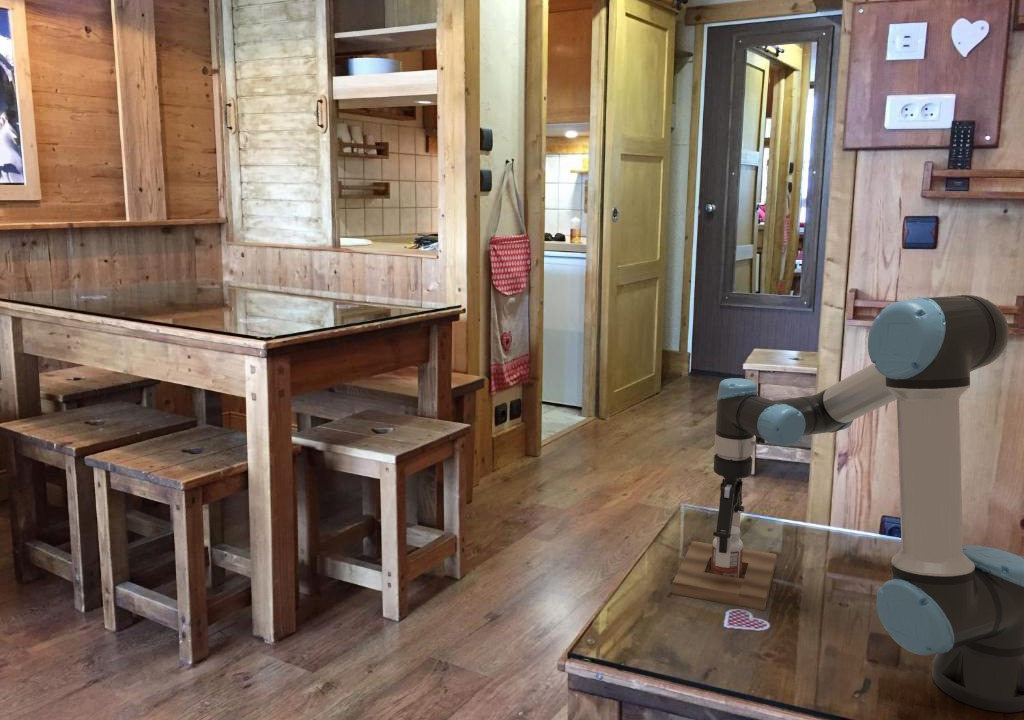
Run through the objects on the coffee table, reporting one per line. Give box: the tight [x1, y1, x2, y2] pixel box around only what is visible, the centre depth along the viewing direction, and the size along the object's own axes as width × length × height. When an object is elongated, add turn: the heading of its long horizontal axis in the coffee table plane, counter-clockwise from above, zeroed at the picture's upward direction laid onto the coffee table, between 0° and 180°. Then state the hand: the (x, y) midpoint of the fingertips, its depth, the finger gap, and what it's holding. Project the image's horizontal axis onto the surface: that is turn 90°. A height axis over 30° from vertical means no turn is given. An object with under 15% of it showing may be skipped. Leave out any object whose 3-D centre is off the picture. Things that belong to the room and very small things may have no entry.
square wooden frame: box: [671, 540, 777, 611], centre depth 182 cm, size 22×18×2 cm
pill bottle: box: [710, 526, 744, 579], centre depth 181 cm, size 6×6×11 cm
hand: (727, 553), depth 181 cm, fingers open, 13 cm apart
